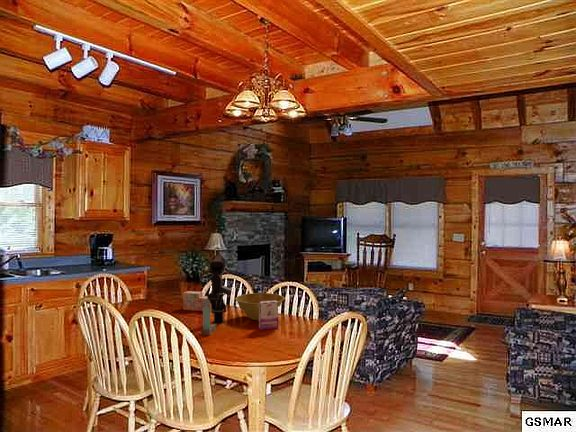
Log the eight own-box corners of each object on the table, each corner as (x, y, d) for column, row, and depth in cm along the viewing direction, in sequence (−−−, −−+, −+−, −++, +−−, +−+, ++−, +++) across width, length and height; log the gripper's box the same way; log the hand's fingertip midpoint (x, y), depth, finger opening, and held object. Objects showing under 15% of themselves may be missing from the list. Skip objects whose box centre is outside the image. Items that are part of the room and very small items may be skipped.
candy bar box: (276, 326, 280) (276, 300, 280) (278, 328, 276) (278, 301, 275) (258, 327, 277) (258, 301, 277) (260, 330, 273) (260, 302, 272)
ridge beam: (208, 328, 275) (208, 323, 275) (216, 328, 275) (216, 324, 274) (201, 335, 261) (201, 330, 261) (209, 335, 261) (209, 330, 261)
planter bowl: (262, 327, 279) (262, 305, 279) (225, 318, 298) (225, 298, 298) (293, 316, 305) (294, 296, 304) (257, 309, 324) (257, 291, 324)
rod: (206, 327, 266) (206, 305, 265) (211, 329, 264) (211, 306, 263) (201, 329, 262) (201, 307, 262) (206, 330, 260) (206, 307, 260)
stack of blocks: (214, 309, 324) (214, 292, 323) (210, 311, 318) (210, 294, 317) (187, 307, 330) (187, 290, 330) (182, 309, 324) (182, 292, 324)
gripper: (225, 284, 262) (225, 311, 263) (234, 279, 281) (233, 304, 281) (207, 284, 264) (207, 311, 264) (216, 279, 282) (216, 304, 283)
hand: (216, 307), depth 273 cm, fingers open, 9 cm apart
